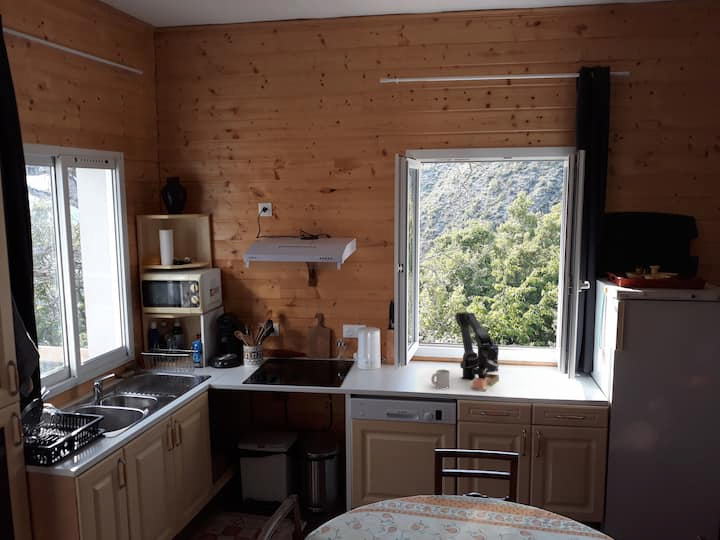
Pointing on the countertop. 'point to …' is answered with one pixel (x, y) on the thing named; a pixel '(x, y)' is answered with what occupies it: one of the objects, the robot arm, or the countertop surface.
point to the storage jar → (496, 357)
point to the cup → (441, 378)
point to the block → (479, 383)
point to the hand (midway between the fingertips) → (482, 383)
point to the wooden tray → (488, 381)
